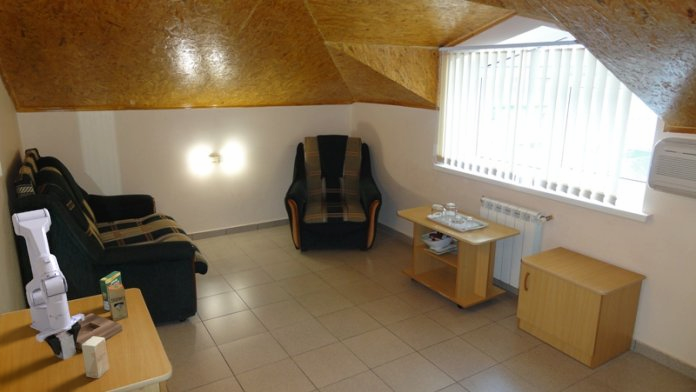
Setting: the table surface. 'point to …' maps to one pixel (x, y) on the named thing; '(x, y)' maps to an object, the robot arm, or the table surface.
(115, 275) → the coffee box
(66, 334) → the peg
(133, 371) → the table surface
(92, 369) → the box
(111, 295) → the shoe polish box
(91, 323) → the socket block
